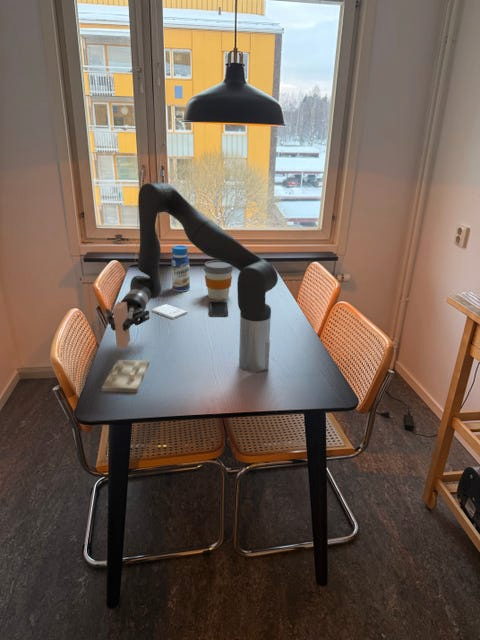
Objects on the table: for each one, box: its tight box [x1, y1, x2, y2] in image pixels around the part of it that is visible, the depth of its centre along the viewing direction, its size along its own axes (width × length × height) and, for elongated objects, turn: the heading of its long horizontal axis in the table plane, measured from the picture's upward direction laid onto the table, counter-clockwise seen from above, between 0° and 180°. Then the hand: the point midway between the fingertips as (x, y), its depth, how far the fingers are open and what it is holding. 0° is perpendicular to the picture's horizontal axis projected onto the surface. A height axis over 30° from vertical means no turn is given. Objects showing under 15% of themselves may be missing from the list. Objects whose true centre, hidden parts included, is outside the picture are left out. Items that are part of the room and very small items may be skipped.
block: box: [112, 301, 131, 349], centre depth 121 cm, size 5×2×12 cm, turn 179°
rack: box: [101, 359, 150, 393], centre depth 127 cm, size 16×10×3 cm, turn 179°
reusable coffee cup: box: [203, 259, 234, 301], centre depth 189 cm, size 13×13×15 cm
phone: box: [208, 300, 229, 318], centre depth 178 cm, size 8×1×15 cm
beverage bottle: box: [170, 245, 191, 293], centre depth 196 cm, size 8×8×20 cm
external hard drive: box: [151, 303, 189, 320], centre depth 174 cm, size 2×8×12 cm
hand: (118, 327), depth 118 cm, fingers closed on block, 2 cm apart
